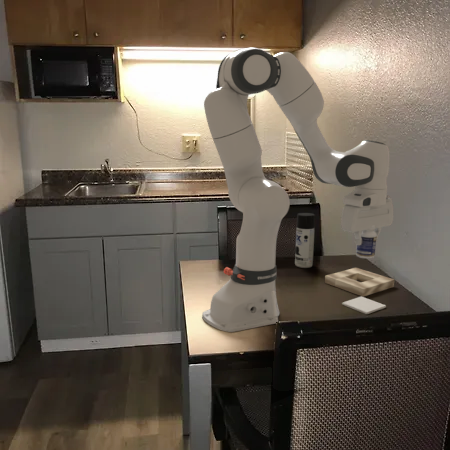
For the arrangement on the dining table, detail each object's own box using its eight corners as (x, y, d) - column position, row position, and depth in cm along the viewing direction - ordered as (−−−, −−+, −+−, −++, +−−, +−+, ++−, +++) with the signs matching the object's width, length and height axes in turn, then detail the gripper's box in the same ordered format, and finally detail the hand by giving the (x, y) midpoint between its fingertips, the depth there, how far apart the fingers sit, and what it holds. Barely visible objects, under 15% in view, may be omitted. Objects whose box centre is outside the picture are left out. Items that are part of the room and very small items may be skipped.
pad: (366, 314, 135) (366, 312, 135) (342, 304, 142) (342, 302, 142) (385, 307, 140) (386, 305, 140) (361, 298, 147) (361, 296, 147)
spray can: (291, 263, 182) (293, 212, 178) (307, 262, 184) (310, 212, 180) (299, 268, 176) (301, 216, 172) (315, 267, 178) (318, 215, 174)
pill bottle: (375, 259, 138) (378, 226, 136) (356, 258, 139) (359, 225, 137) (373, 254, 143) (376, 223, 141) (355, 253, 144) (357, 222, 142)
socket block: (363, 296, 149) (363, 289, 148) (324, 282, 161) (325, 275, 161) (393, 286, 158) (394, 279, 157) (355, 274, 170) (355, 267, 170)
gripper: (382, 193, 146) (378, 236, 149) (338, 198, 134) (335, 245, 137) (400, 196, 141) (396, 240, 144) (356, 201, 129) (352, 250, 132)
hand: (366, 243), depth 140 cm, fingers closed on pill bottle, 5 cm apart
